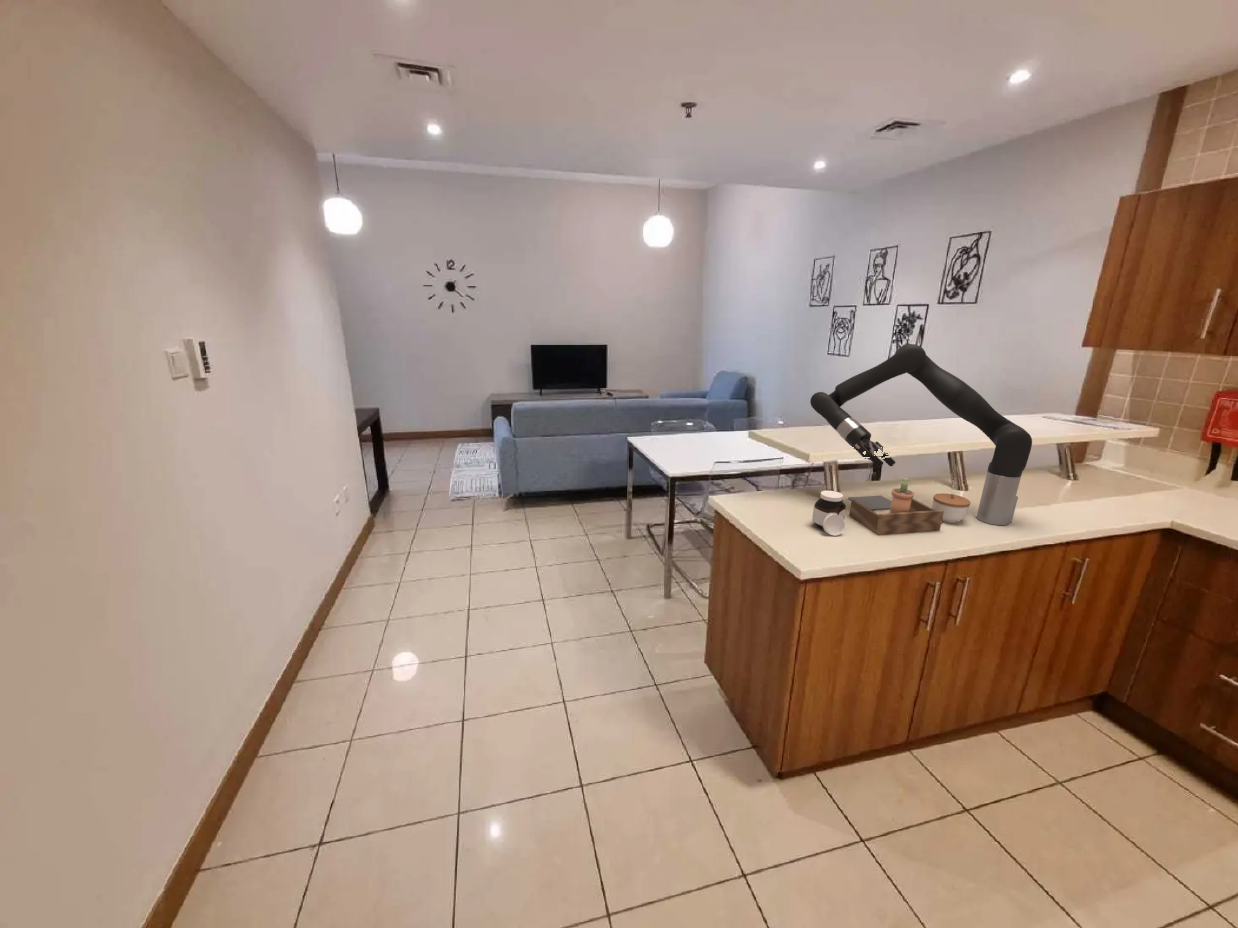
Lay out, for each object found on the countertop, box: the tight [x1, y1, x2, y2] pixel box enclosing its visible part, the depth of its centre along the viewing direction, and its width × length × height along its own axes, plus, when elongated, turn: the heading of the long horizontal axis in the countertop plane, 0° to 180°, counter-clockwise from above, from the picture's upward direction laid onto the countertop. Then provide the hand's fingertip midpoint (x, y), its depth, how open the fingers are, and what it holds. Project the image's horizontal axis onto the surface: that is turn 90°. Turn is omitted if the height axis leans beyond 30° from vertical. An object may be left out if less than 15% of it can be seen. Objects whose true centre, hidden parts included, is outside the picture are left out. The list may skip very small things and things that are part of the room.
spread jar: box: [811, 490, 847, 537], centre depth 165 cm, size 12×11×12 cm
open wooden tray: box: [848, 497, 944, 536], centre depth 170 cm, size 22×16×7 cm
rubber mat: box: [847, 495, 892, 512], centre depth 187 cm, size 14×12×1 cm
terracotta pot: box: [889, 477, 915, 513], centre depth 166 cm, size 6×6×17 cm
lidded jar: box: [931, 492, 971, 524], centre depth 173 cm, size 11×11×9 cm
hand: (887, 465), depth 168 cm, fingers open, 8 cm apart
